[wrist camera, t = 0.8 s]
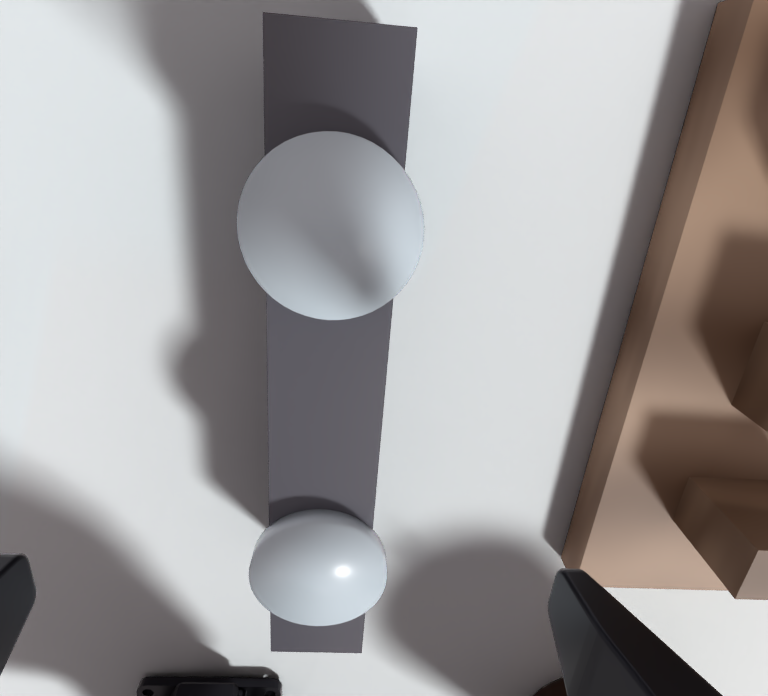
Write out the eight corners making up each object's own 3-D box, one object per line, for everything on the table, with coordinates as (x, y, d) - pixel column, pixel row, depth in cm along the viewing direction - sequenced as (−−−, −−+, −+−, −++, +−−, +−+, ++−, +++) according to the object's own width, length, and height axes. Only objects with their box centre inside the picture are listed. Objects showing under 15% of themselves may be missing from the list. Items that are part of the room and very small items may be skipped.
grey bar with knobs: (373, 551, 21) (376, 670, 17) (276, 548, 21) (251, 668, 16) (419, 58, 14) (446, 24, 9) (274, 45, 14) (228, 2, 9)
